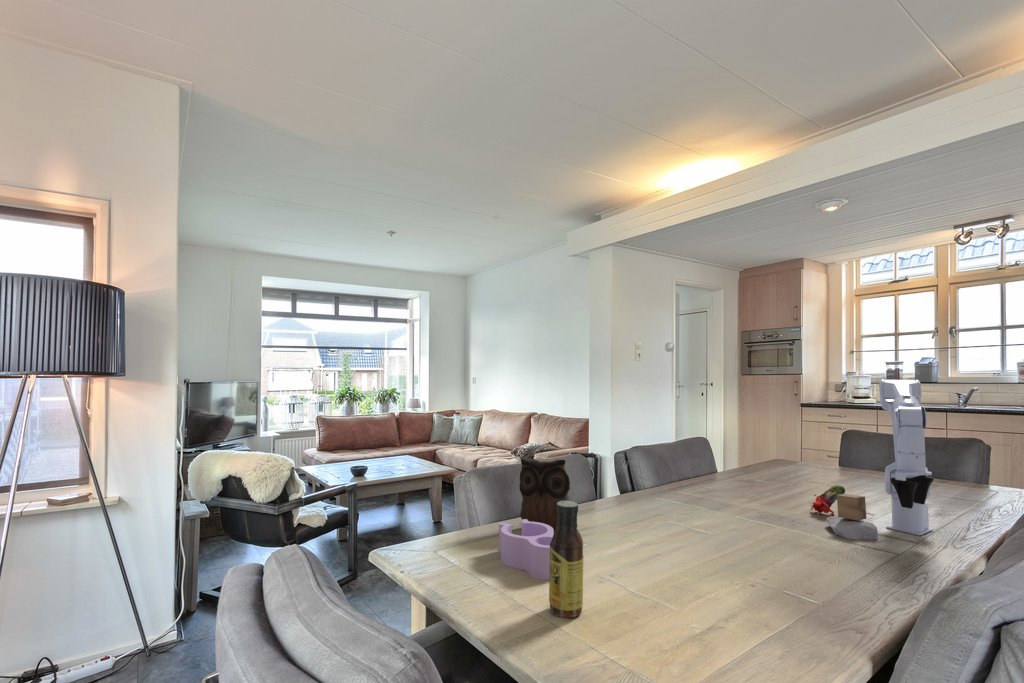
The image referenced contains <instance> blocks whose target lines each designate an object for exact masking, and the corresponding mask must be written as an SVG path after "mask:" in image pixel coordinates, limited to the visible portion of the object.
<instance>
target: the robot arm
mask: <svg viewBox="0 0 1024 683" xmlns="http://www.w3.org/2000/svg"><path fill="white" fill-rule="evenodd" d="M878 385H879V386H878V387H879V399H880V400H879V401H880V406H881V409H883V410H885V411H886V412H888V413H889V416H890V419H891V423H892V425H891V426H892V436H893V447H894V448H893V449H894V459H895V461H894V462H892V463H890V464H888V465H887V466H886V467H885V469H884V487H885V489H884V490H885V492H886V494H887V495H889V496H891V497H890V498H891V501H890V502H891V503H890V504H891V522H892V523H891V524H887V525H886V526H885V528H886V529H890V530H894V531H899V532H903V533H907V534H912V535H915V536H922V535H924V534H926V533H929V532H931V531H933V530H934V528H932V527H930V525H929V521H930V519H929V507H928V506H929V505H928V504H927V502H926V500H927V499H929V498H930V496H931V485H932V483H933V482H934V477H933V476H932V475H933V474H932V471H929V469H928V467H926V466H927V465H926V463H927V462H926V461H927V460H926V439H925V436H926V435H925V430H926V429H927V424H928V419H927V418H928V417H927V416H928V415H927V412H926V408H925V406H921V399H922V384H921V381H920V380H919V379H883V378H881V379H880V380H879V383H878Z"/></svg>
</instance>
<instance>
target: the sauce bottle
mask: <svg viewBox="0 0 1024 683" xmlns="http://www.w3.org/2000/svg"><path fill="white" fill-rule="evenodd" d="M556 511H557V526H556V529H555V532H554V535H553V538H552V541H551V543H550V565H549V580H548V581H549V583H548V584H549V588H548V591H549V593H548V595H549V596H548V601H549V610H550V611H551V612H552V614H553V615H555V616H556V617H558V618H565V619H569V618H570V619H571V618H576V617H579V616H581V614H582V612H583V605H584V559H585V558H584V540H583V537H582V535H581V533H580V532H579V530H578V526H579V525H578V513H579V504H578V502H575V501H573V500H570V501H560V502H558V503H557V504H556Z"/></svg>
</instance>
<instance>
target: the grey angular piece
mask: <svg viewBox="0 0 1024 683" xmlns="http://www.w3.org/2000/svg"><path fill="white" fill-rule="evenodd" d="M826 523H828V526H829V527H830V528H831V530H832V531H833V533H834V535H836V536H837V535H838V536H839V537H842V538H844V539H852V540H866V541H867V540H869V541H871V540H872V541H878V540H879V532H878V527H877V525H876V524H874V523H872V522H870V521H866V520H864V519H863V520H852V519H847V518H841V517H838V515H835V516H833V517H832V516H829V517H827V518H826Z"/></svg>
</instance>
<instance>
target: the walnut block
mask: <svg viewBox="0 0 1024 683" xmlns="http://www.w3.org/2000/svg"><path fill="white" fill-rule="evenodd" d="M836 501H837V504H836V505H837V516H838V517H841V518H847V519H852V520H863V521H864V520H867V506H866V505H867V504H866V496H864V495H858V494H851V493H845V494H840V495H837V500H836Z"/></svg>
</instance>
